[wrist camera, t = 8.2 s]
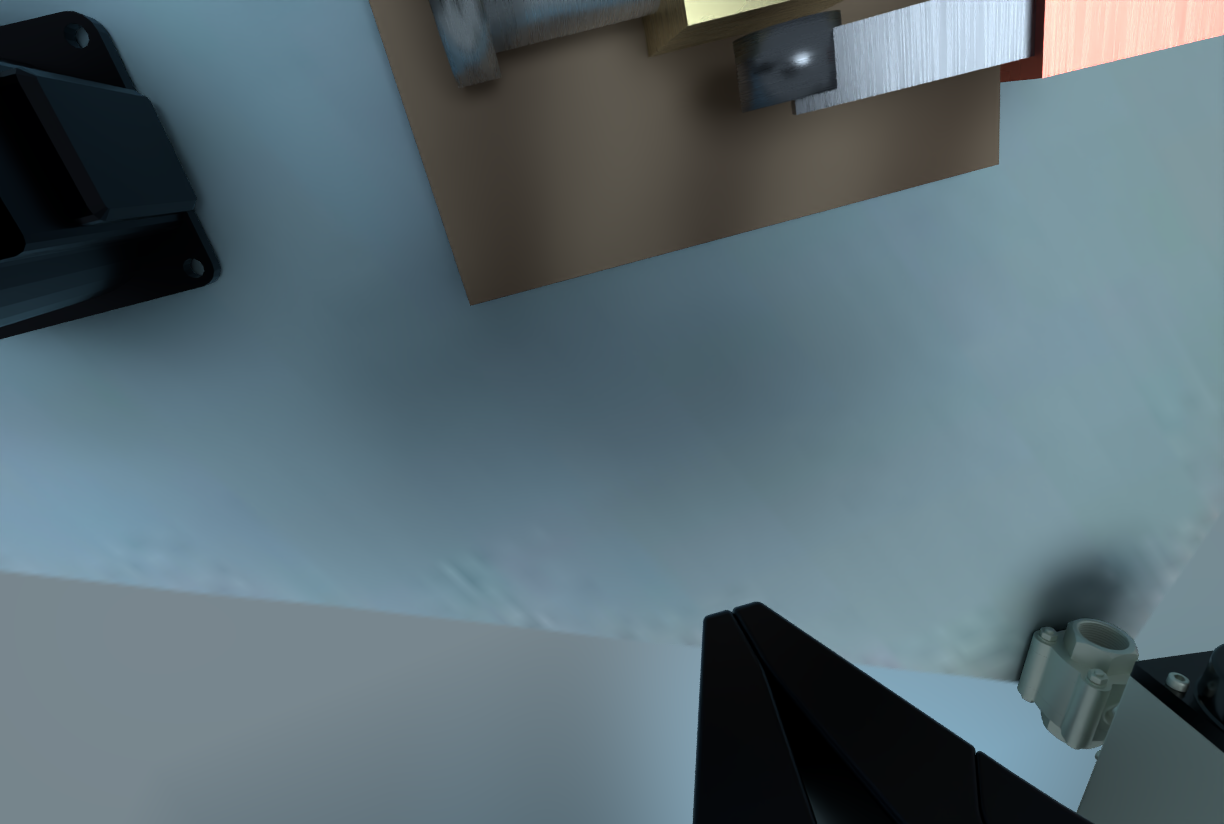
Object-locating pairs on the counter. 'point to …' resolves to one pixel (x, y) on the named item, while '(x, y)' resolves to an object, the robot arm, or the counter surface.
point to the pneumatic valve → (1133, 722)
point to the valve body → (595, 24)
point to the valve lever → (955, 45)
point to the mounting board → (652, 147)
